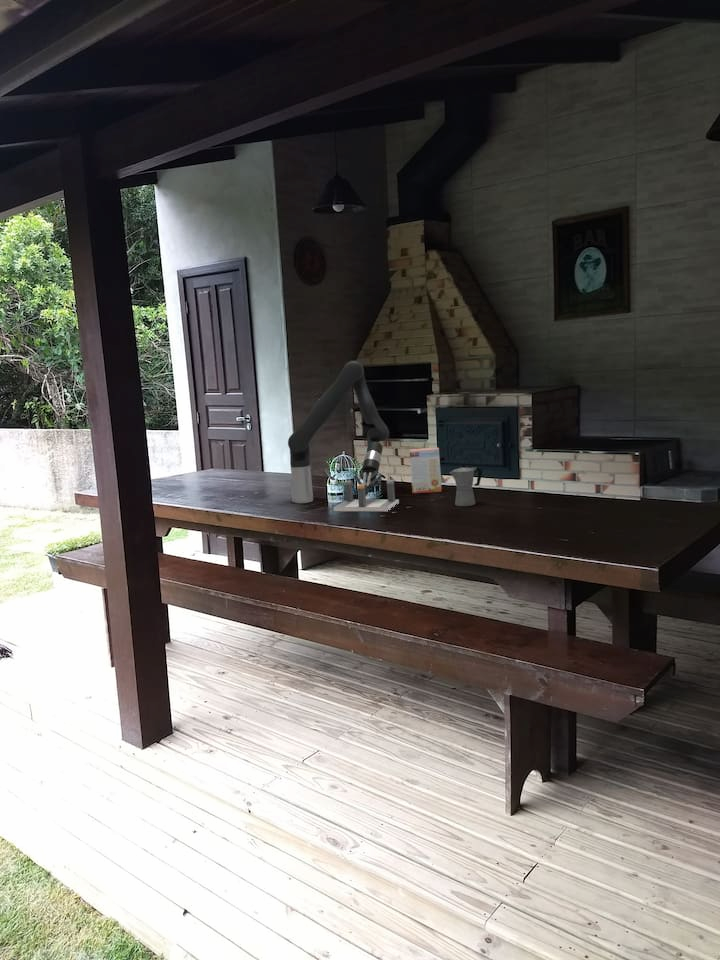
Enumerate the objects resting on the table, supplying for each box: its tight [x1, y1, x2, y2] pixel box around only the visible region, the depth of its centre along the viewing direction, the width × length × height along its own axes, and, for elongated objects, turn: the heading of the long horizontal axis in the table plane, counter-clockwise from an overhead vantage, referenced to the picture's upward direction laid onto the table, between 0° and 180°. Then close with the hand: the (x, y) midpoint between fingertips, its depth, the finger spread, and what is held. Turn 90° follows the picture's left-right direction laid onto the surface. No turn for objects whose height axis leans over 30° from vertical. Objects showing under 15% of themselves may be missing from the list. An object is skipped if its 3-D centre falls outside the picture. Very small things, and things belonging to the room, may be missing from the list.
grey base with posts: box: [333, 479, 400, 512], centre depth 332 cm, size 25×17×11 cm
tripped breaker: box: [356, 483, 367, 506], centre depth 327 cm, size 2×3×9 cm
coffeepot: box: [449, 462, 484, 507], centre depth 323 cm, size 15×9×18 cm, turn 107°
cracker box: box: [409, 447, 443, 494], centre depth 356 cm, size 14×6×21 cm, turn 84°
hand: (364, 494), depth 331 cm, fingers closed
